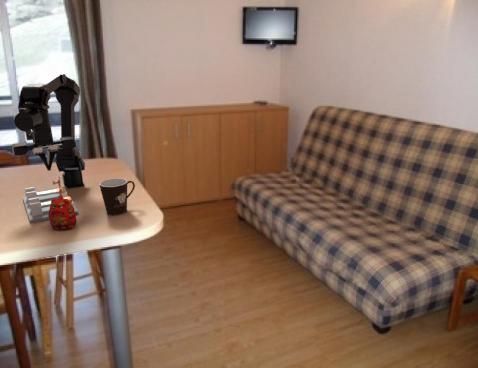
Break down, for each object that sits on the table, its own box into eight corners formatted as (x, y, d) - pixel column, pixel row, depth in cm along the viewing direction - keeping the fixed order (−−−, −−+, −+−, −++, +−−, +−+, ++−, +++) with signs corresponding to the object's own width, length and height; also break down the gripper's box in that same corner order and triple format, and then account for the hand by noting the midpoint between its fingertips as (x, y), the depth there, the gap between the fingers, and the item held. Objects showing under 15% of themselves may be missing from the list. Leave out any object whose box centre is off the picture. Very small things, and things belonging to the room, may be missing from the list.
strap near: (70, 199, 135) (69, 196, 135) (72, 202, 132) (71, 199, 132) (35, 206, 130) (34, 203, 130) (36, 209, 127) (35, 206, 127)
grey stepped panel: (65, 192, 150) (63, 179, 148) (78, 213, 130) (76, 199, 129) (23, 199, 143) (20, 186, 141) (30, 223, 123) (27, 208, 122)
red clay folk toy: (47, 232, 118) (38, 183, 113) (56, 222, 124) (48, 175, 119) (73, 231, 118) (66, 182, 113) (81, 221, 125) (74, 175, 120)
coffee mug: (105, 218, 126) (101, 188, 123) (100, 209, 133) (97, 180, 130) (142, 211, 131) (139, 182, 128) (135, 203, 138) (133, 175, 135)
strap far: (64, 190, 145) (63, 187, 145) (65, 192, 142) (65, 189, 142) (31, 195, 140) (30, 192, 139) (32, 198, 137) (31, 195, 136)
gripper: (65, 117, 142) (72, 160, 148) (5, 124, 133) (15, 169, 138) (73, 122, 133) (79, 167, 139) (9, 130, 124) (19, 178, 129)
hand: (49, 170), depth 136 cm, fingers closed
